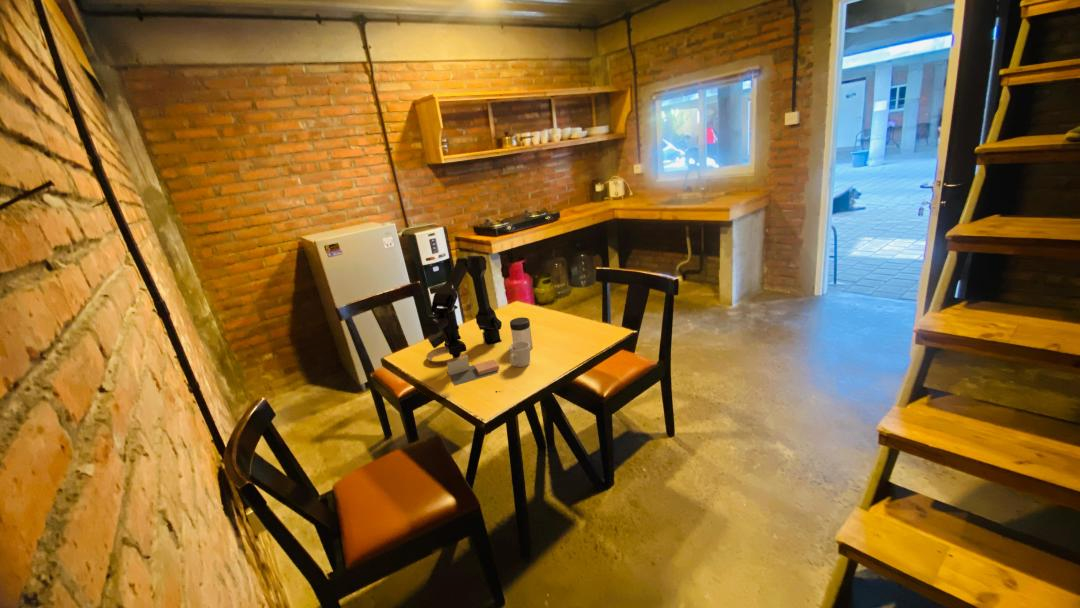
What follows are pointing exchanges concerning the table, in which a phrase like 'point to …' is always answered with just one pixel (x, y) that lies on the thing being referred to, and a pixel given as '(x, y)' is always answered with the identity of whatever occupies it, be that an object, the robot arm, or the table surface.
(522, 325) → the jar
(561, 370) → the table surface
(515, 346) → the cup
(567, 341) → the table surface
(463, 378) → the mat
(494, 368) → the tile
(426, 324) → the robot arm
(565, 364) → the table surface
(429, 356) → the brown ring
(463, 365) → the tile
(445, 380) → the table surface
